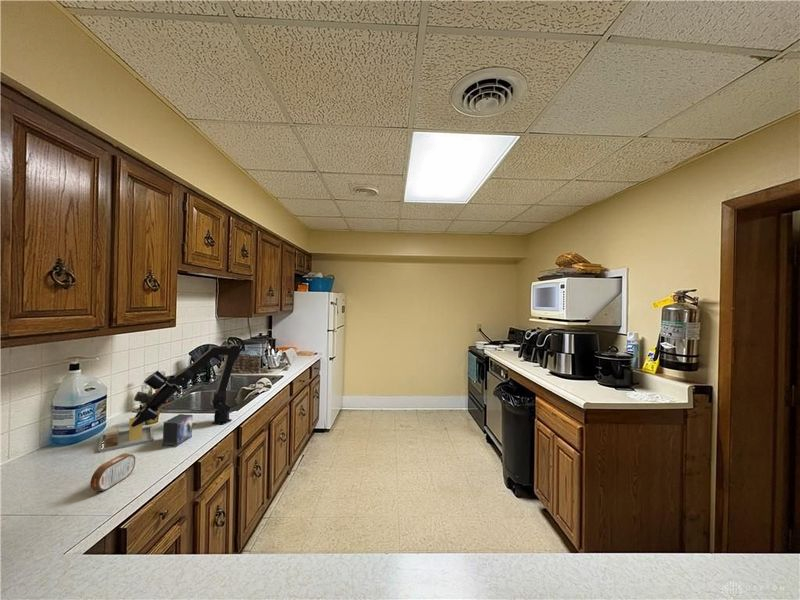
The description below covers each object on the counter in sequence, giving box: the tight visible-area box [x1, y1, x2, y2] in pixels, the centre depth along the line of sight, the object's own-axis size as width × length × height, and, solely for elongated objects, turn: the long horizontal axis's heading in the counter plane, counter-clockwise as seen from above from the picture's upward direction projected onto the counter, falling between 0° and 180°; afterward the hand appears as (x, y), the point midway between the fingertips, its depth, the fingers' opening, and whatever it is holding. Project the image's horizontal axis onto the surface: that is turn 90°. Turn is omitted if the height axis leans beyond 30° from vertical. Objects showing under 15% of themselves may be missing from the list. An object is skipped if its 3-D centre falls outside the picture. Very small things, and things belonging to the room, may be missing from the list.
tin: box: [89, 452, 136, 492], centre depth 114 cm, size 15×3×8 cm, turn 178°
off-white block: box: [105, 428, 119, 436], centre depth 146 cm, size 4×4×4 cm
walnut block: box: [105, 434, 118, 448], centre depth 141 cm, size 4×4×4 cm
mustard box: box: [128, 417, 143, 441], centre depth 148 cm, size 4×4×8 cm
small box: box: [162, 413, 194, 448], centre depth 146 cm, size 11×6×10 cm, turn 179°
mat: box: [155, 422, 197, 432], centre depth 163 cm, size 12×12×1 cm
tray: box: [97, 425, 155, 454], centre depth 147 cm, size 18×18×2 cm
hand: (131, 424), depth 148 cm, fingers closed on mustard box, 4 cm apart
